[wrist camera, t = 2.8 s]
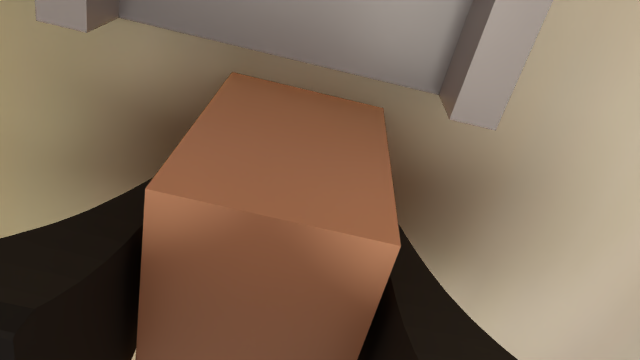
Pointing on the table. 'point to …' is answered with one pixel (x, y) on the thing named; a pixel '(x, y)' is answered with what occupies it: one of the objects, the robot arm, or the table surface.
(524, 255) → the table surface
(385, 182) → the terracotta plug
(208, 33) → the slot rack
